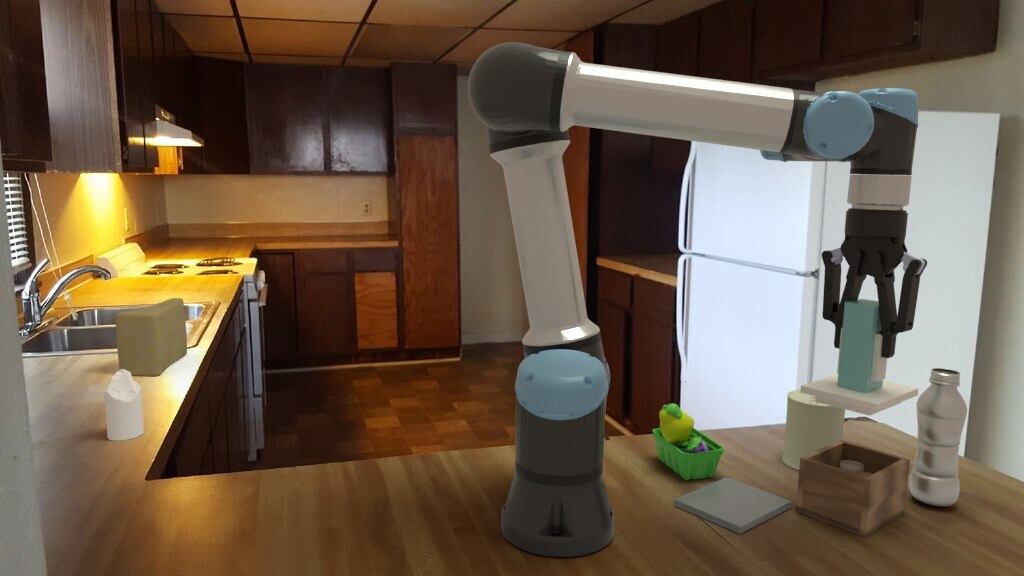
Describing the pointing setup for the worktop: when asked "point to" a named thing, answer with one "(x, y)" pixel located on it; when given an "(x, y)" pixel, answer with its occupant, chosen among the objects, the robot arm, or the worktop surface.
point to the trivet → (733, 504)
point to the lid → (858, 367)
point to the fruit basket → (685, 445)
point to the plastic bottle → (938, 440)
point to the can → (809, 427)
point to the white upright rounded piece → (123, 407)
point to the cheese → (151, 337)
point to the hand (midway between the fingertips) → (860, 375)
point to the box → (852, 487)
